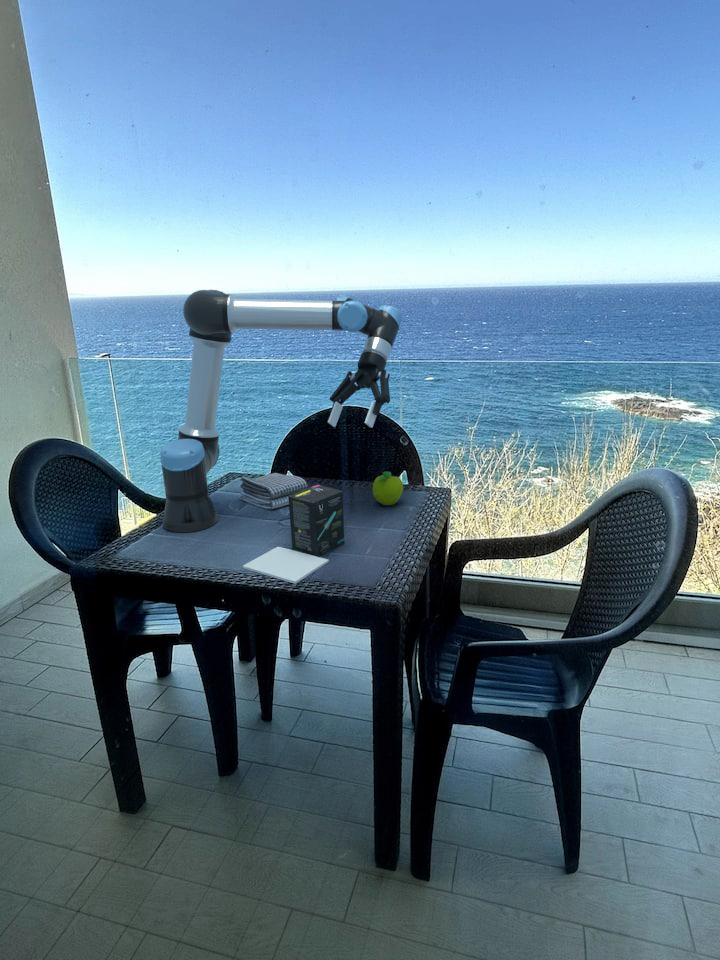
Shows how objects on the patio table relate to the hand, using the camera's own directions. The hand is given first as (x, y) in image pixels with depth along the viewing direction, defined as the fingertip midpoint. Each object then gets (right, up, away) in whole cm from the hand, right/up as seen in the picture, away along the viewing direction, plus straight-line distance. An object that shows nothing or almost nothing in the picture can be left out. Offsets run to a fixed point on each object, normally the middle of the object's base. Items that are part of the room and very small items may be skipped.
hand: (349, 425), depth 158 cm
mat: (-15, -35, -17) cm, 42 cm away
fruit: (+11, -22, +22) cm, 33 cm away
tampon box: (-8, -32, -7) cm, 34 cm away
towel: (-25, -21, +29) cm, 44 cm away
